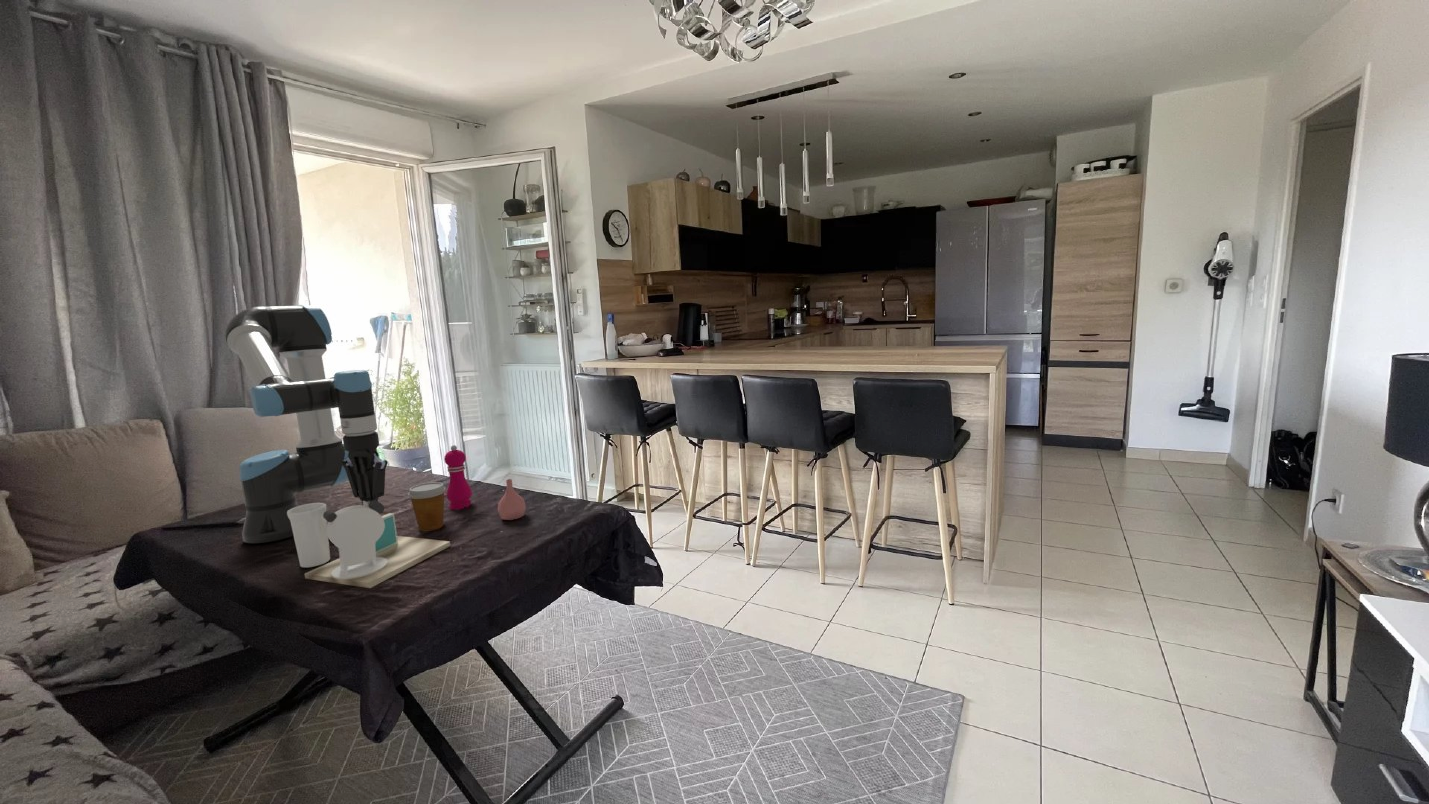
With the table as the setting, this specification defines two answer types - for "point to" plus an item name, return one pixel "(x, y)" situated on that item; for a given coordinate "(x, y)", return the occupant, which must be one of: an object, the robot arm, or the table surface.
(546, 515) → the table surface
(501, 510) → the pink bulbous piece
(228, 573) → the table surface
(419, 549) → the board
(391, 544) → the tile
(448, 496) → the pepper mill
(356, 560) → the panda figurine
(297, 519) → the cup
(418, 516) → the disposable coffee cup
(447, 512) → the table surface
